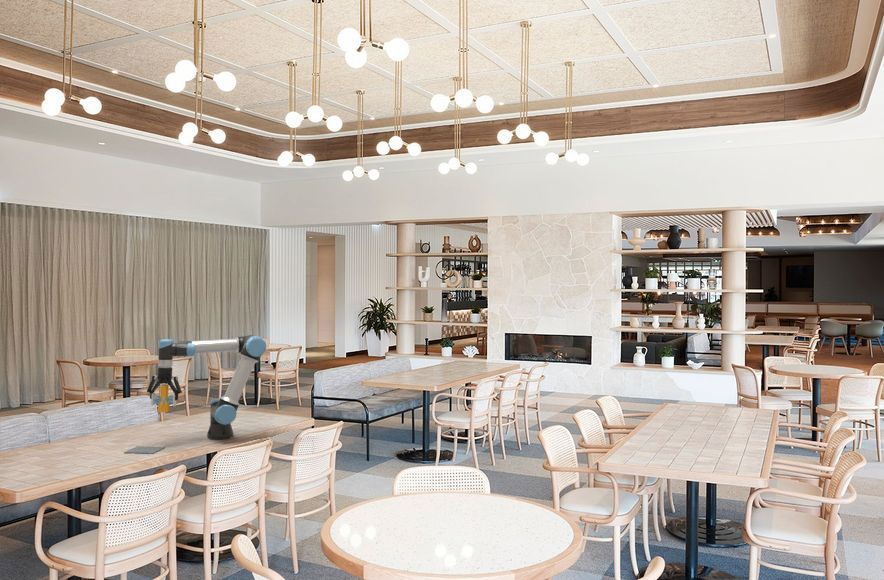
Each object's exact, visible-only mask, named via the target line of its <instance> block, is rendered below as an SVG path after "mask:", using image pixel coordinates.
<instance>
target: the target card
mask: <svg viewBox="0 0 884 580" xmlns="http://www.w3.org/2000/svg"><path fill="white" fill-rule="evenodd" d="M165 448H166V447H165V446H140V445H139V446H138V445H137V446H135V447H132V448H131V449H128V450H126V451H124V454H131V453H135V454H137V455H138V454H139V455H143V454H144V455H154V453H155V454H157V453H158V452H160V451H162V450H164V449H165Z"/></svg>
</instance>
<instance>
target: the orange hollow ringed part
mask: <svg viewBox="0 0 884 580" xmlns="http://www.w3.org/2000/svg"><path fill="white" fill-rule="evenodd" d="M169 387H170V386H169V385H168V384H164V383H163V384H160V395H155V398H154V403H155V405H157V412H159V413H168V412H170V407H171V406H170V405H173V395H169ZM157 399H159V401H157ZM169 399H171V401H170V400H169Z"/></svg>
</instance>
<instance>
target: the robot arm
mask: <svg viewBox="0 0 884 580" xmlns="http://www.w3.org/2000/svg"><path fill="white" fill-rule="evenodd" d="M266 351H267V344H266V341H265V340H264V338H262V337H261V336H258V335H254V334H247V335H244V336H236V337H235V338H223V339H222V338H221V339H206V340H202V339H201V340H187V341H186V340H185V341H184V340H180V341H178V342H174V340H173V339H167V338H166V339H165V338H163V339H161V340H159V342H158V357H157V359H158V361H157V366H158V368H157V375H152V376H151V381H150V383H149V385H148V387H147V389H146V392H147V393H149V399H150V400H151V402H150V403H151V404H150V406H154V405H156V404H155V403H154V398H155V397H156V393H155V392H156V390H157V389H158V388H159V386H161V385H162V384H168V385H169V387H170V389H171V390H172V392H173V393H174V394H173V395H172V396H173V403H172V407H176V406H177V401H178V400H179V395H181V394H182V393H183V391H182V389H181V386H180V383H179V380H178V379H179V378H178V376H177V375H176V376H173V363H174V362H173V360H174V359H173V358H174V357H194V356H195V355H196V354H210V353H212V354H213V353H226V352H227V353H228V352H230V353H231V352H236V353H239V354H240V355H239V356H240V360H239V362H238V364H237V367H236V368H235V370H234V373H233V375H232V377H231V379H230V382H229V384H228V386H227V389H226V391H225V393H224V395H222V396H221V397H219V398H213V399H211V400H210V404H209V405H210V409H209V411H210V412H209V413H210V415H209V416H210V421H209V423H210V424H209V427H208V431H207V434H206V438H207V439H208V440H209V439H210V440H226V439H225V438H228V439H231V438H230V437H232V438H233V437H234V430H233V427H232V425H231V424H232V423H233V422H234V421H235V420H236V418H237V411H238V409H239V406H240V402H239V400H240V398H241V395H242V393H243V392H244V389H245V387H246V384H247V382H248V380H249V378H250V375H251V374H252V371H253V369H254V367H255V365H256V363H259V362H260V360H261V358H262V356H263V355H264V354H265V353H266ZM156 380H158V381H156ZM155 382H156V383H155ZM154 384H155V385H154Z"/></svg>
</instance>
